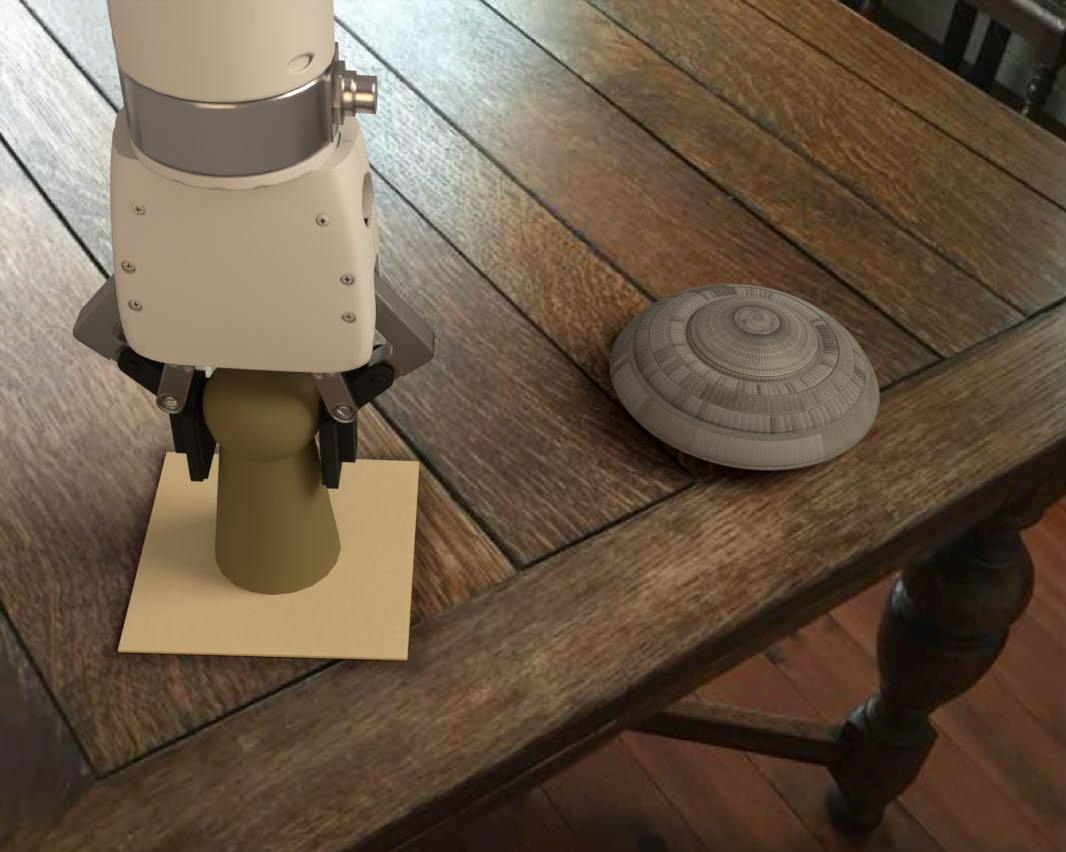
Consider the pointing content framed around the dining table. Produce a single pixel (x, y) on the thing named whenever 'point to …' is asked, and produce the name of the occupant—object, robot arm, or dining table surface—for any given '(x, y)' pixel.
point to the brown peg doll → (269, 480)
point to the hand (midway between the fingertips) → (269, 461)
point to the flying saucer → (745, 377)
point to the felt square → (284, 619)
